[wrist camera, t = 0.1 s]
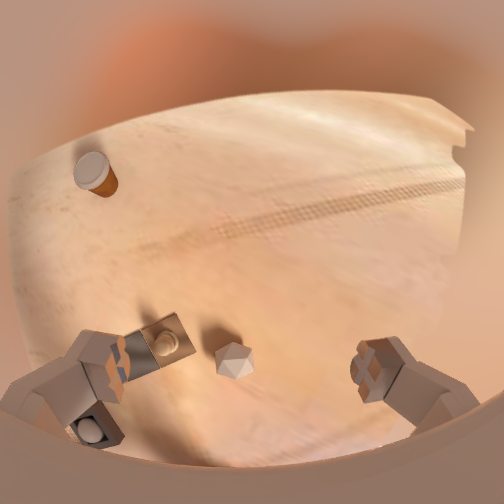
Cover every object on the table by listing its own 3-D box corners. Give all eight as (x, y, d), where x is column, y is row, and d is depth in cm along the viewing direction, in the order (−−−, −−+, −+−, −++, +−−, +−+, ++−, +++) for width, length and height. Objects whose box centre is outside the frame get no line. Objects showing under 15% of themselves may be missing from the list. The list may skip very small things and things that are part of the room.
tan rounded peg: (182, 347, 59) (177, 355, 51) (164, 355, 58) (156, 364, 50) (172, 327, 59) (165, 332, 51) (153, 336, 59) (144, 342, 51)
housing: (124, 436, 54) (119, 444, 49) (94, 443, 52) (88, 451, 47) (100, 399, 55) (93, 406, 50) (71, 409, 53) (63, 415, 48)
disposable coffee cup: (130, 175, 63) (114, 155, 52) (113, 208, 62) (93, 193, 50) (103, 165, 63) (85, 145, 51) (86, 196, 61) (65, 180, 50)
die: (208, 349, 61) (209, 383, 52) (228, 328, 58) (231, 362, 49) (236, 360, 64) (240, 392, 56) (258, 340, 61) (264, 373, 53)
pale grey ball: (111, 434, 52) (102, 445, 45) (93, 438, 51) (83, 449, 44) (96, 411, 52) (86, 422, 46) (78, 417, 51) (68, 426, 45)
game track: (196, 351, 60) (196, 352, 59) (75, 400, 54) (74, 401, 53) (176, 313, 60) (175, 314, 60) (57, 368, 54) (56, 369, 54)
